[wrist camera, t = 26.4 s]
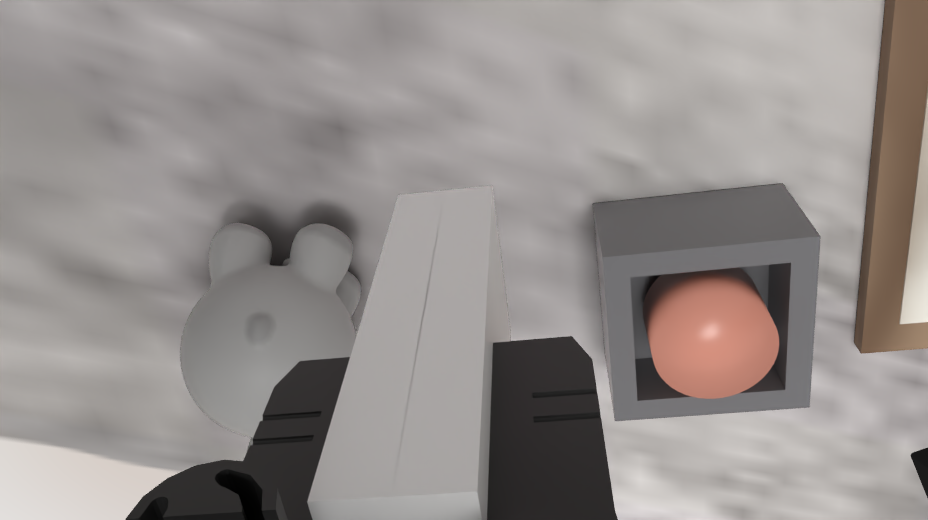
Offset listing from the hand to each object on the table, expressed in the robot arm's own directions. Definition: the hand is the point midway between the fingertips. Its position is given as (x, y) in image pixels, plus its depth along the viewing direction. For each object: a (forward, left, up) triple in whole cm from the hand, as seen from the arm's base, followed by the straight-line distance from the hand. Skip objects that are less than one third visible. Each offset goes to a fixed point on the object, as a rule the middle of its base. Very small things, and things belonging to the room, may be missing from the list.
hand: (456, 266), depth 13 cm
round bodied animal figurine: (-11, -13, -21) cm, 28 cm away
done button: (+7, -13, -18) cm, 23 cm away
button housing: (+7, -13, -21) cm, 26 cm away
